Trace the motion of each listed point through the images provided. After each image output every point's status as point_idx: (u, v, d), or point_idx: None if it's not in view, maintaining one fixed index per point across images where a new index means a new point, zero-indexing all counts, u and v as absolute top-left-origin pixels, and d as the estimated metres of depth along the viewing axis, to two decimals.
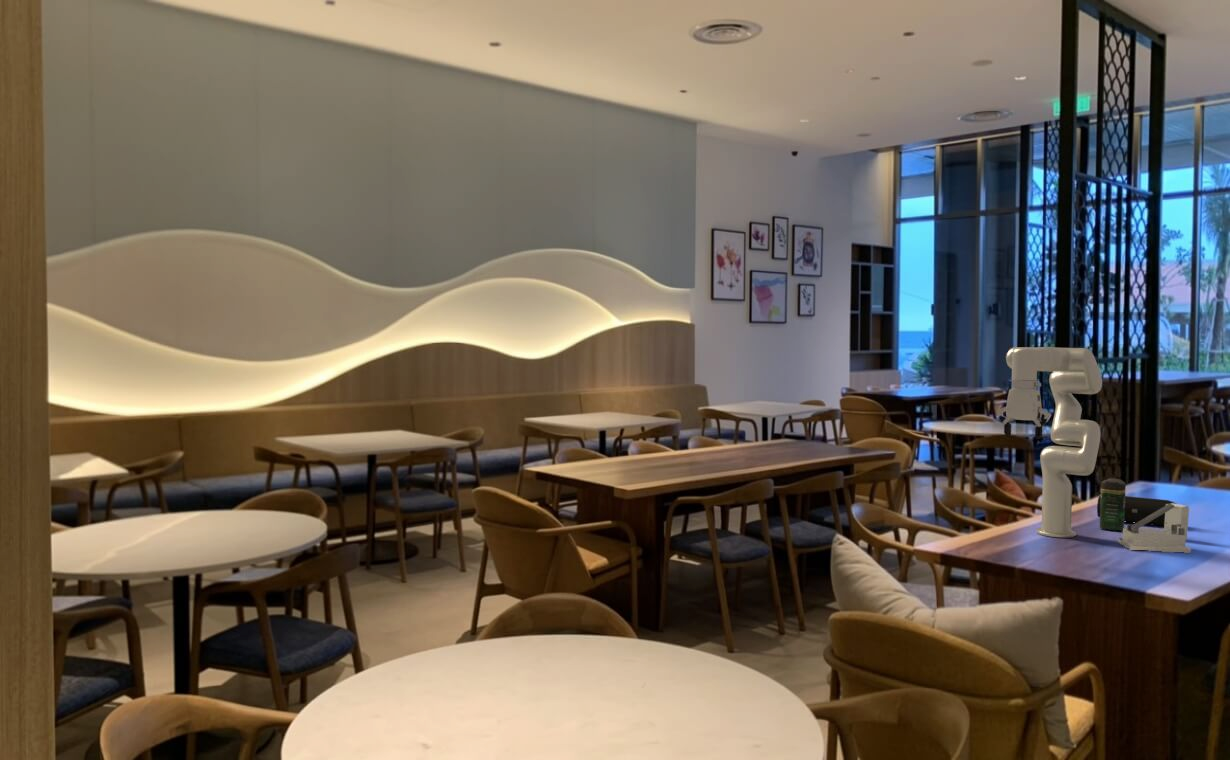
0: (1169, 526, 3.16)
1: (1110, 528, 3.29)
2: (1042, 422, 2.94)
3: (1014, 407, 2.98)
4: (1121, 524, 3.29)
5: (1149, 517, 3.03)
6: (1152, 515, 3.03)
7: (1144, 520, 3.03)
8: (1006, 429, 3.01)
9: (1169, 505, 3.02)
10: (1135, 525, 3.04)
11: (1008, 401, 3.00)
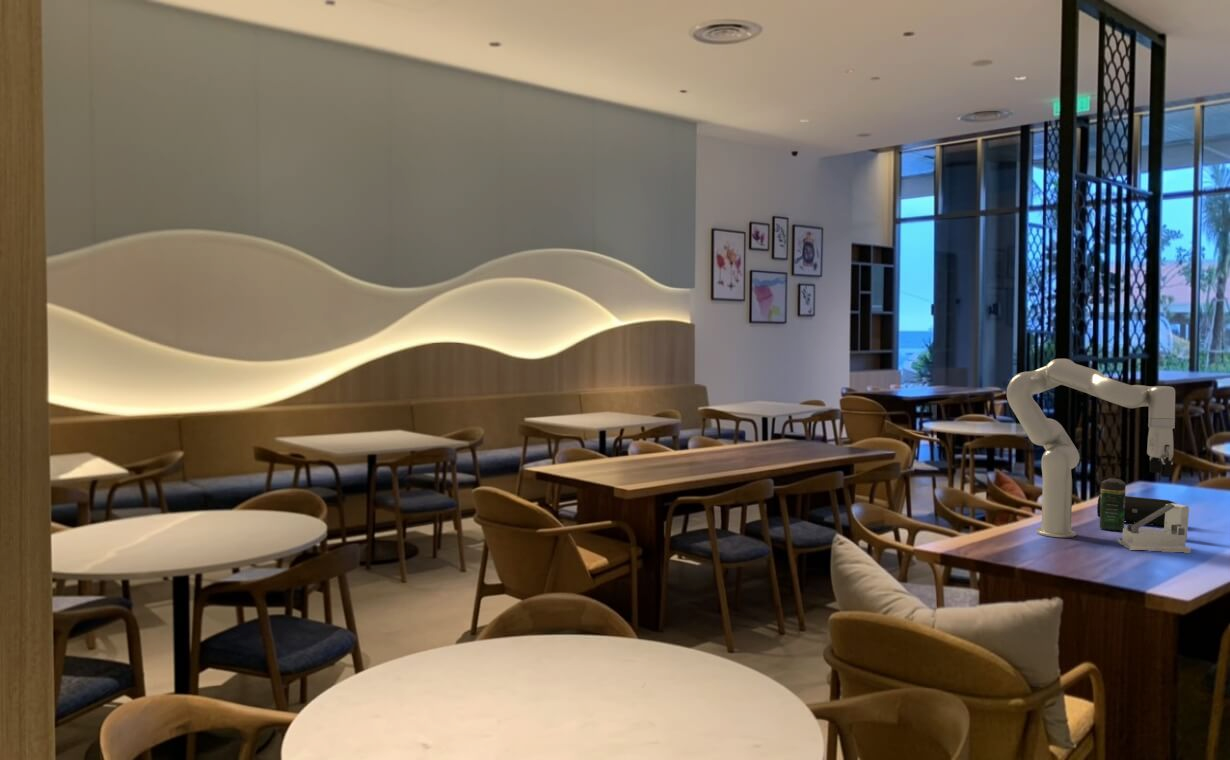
0: (1169, 526, 3.16)
1: (1110, 528, 3.29)
2: None
3: None
4: (1121, 524, 3.29)
5: (1149, 517, 3.03)
6: (1152, 515, 3.03)
7: (1144, 520, 3.03)
8: None
9: (1169, 505, 3.02)
10: (1135, 525, 3.04)
11: None
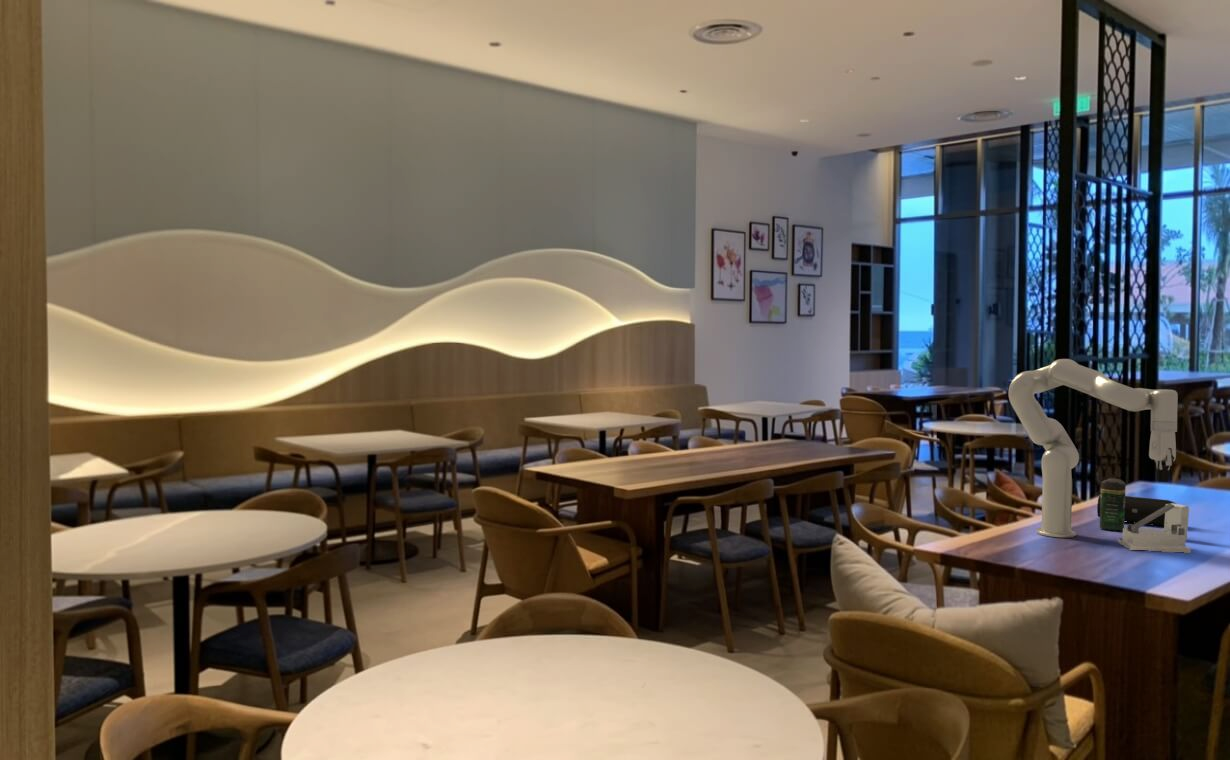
0: (1169, 526, 3.16)
1: (1110, 528, 3.29)
2: None
3: None
4: (1121, 524, 3.29)
5: (1149, 517, 3.03)
6: (1152, 515, 3.03)
7: (1144, 520, 3.03)
8: None
9: (1169, 505, 3.02)
10: (1135, 525, 3.04)
11: (1175, 444, 2.97)
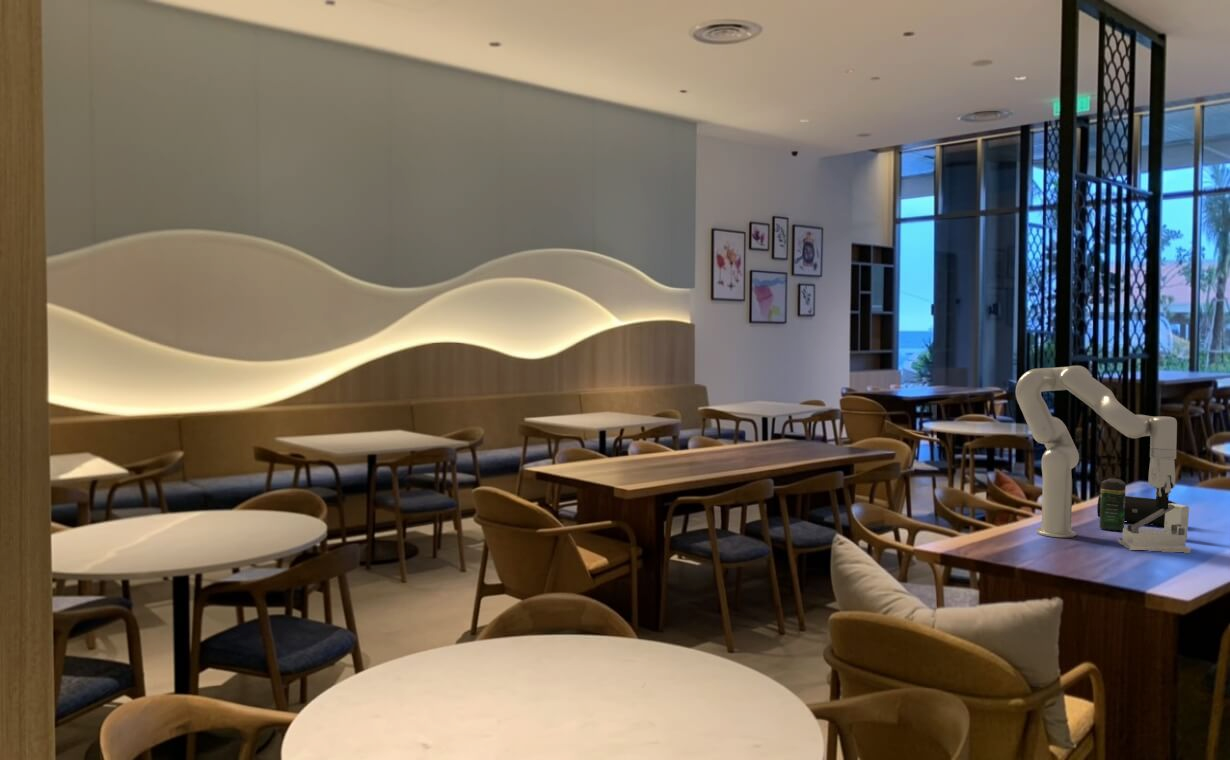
0: (1169, 526, 3.16)
1: (1110, 528, 3.29)
2: None
3: None
4: (1121, 524, 3.29)
5: (1149, 517, 3.03)
6: (1152, 515, 3.03)
7: (1144, 520, 3.03)
8: None
9: (1169, 506, 3.02)
10: (1135, 525, 3.04)
11: (1174, 471, 2.97)
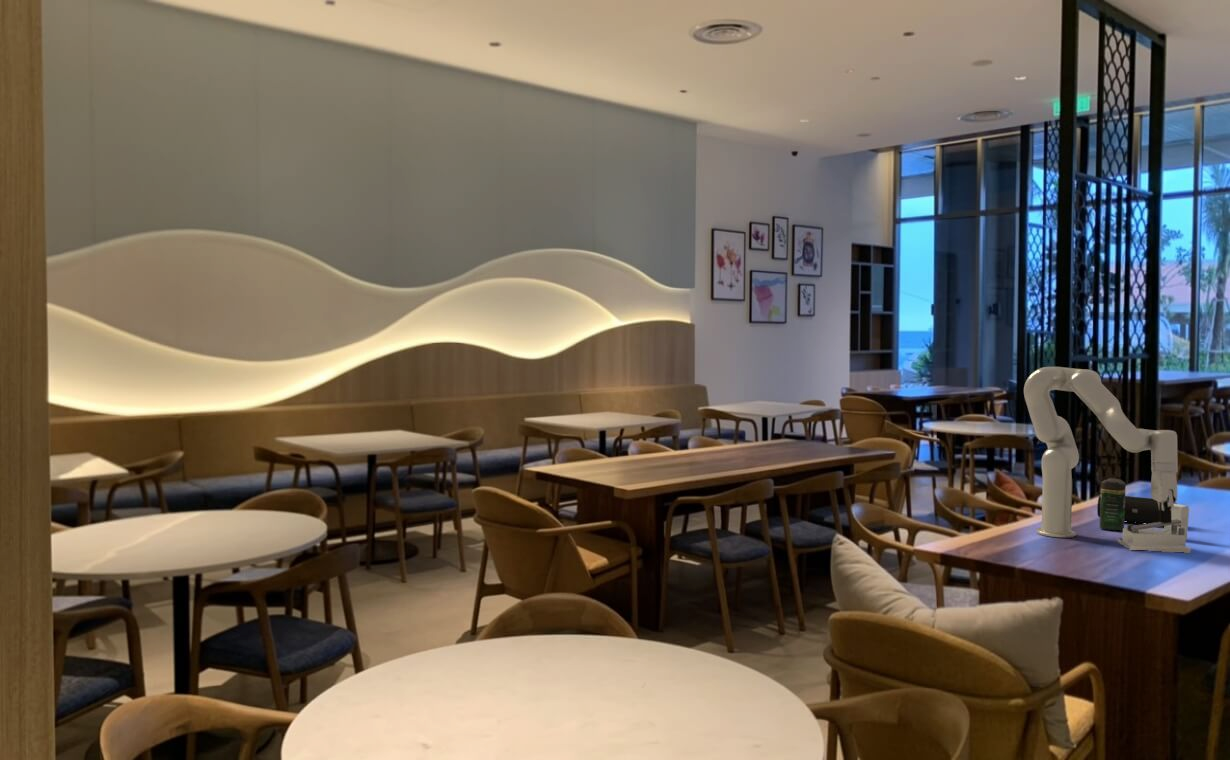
0: (1169, 526, 3.16)
1: (1110, 528, 3.29)
2: None
3: None
4: (1121, 524, 3.29)
5: (1153, 524, 3.03)
6: (1156, 523, 3.03)
7: (1147, 525, 3.03)
8: None
9: (1176, 520, 3.01)
10: (1136, 526, 3.04)
11: (1176, 485, 2.97)
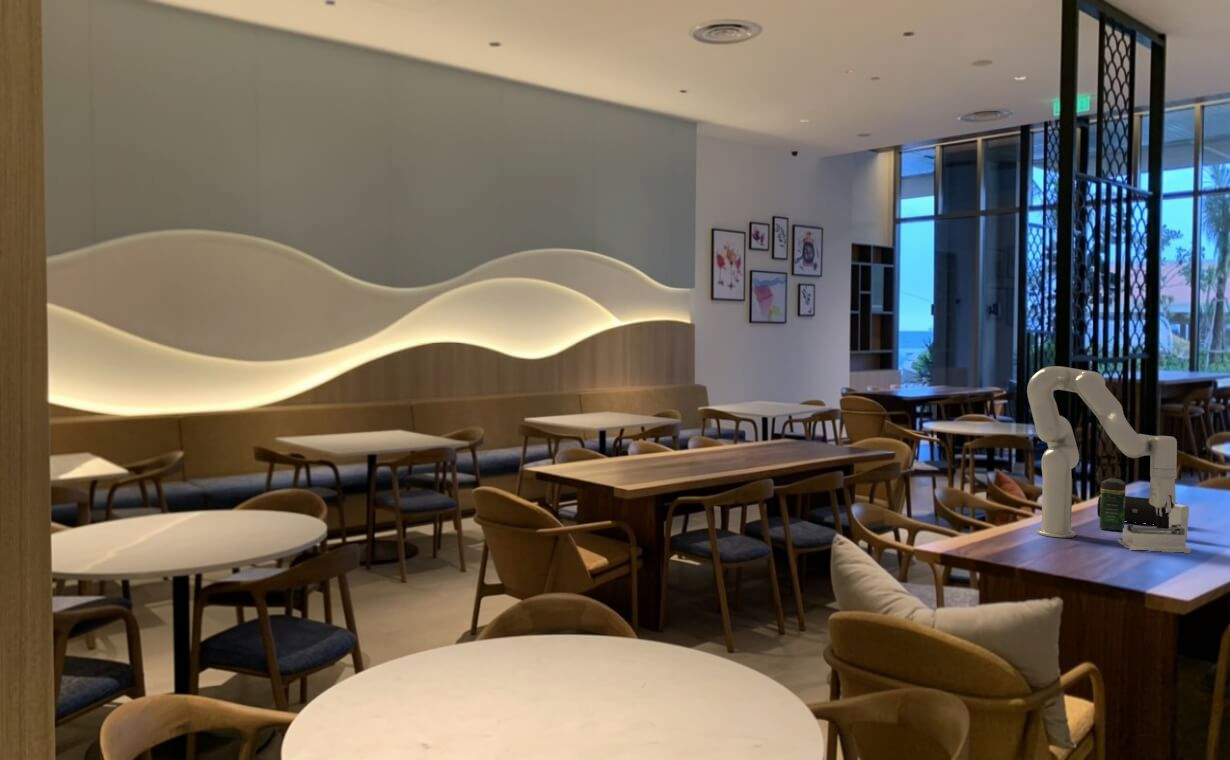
0: (1169, 526, 3.16)
1: (1110, 528, 3.29)
2: None
3: None
4: (1121, 524, 3.29)
5: (1153, 527, 3.03)
6: (1157, 527, 3.03)
7: (1147, 527, 3.03)
8: None
9: (1177, 527, 3.02)
10: None
11: None
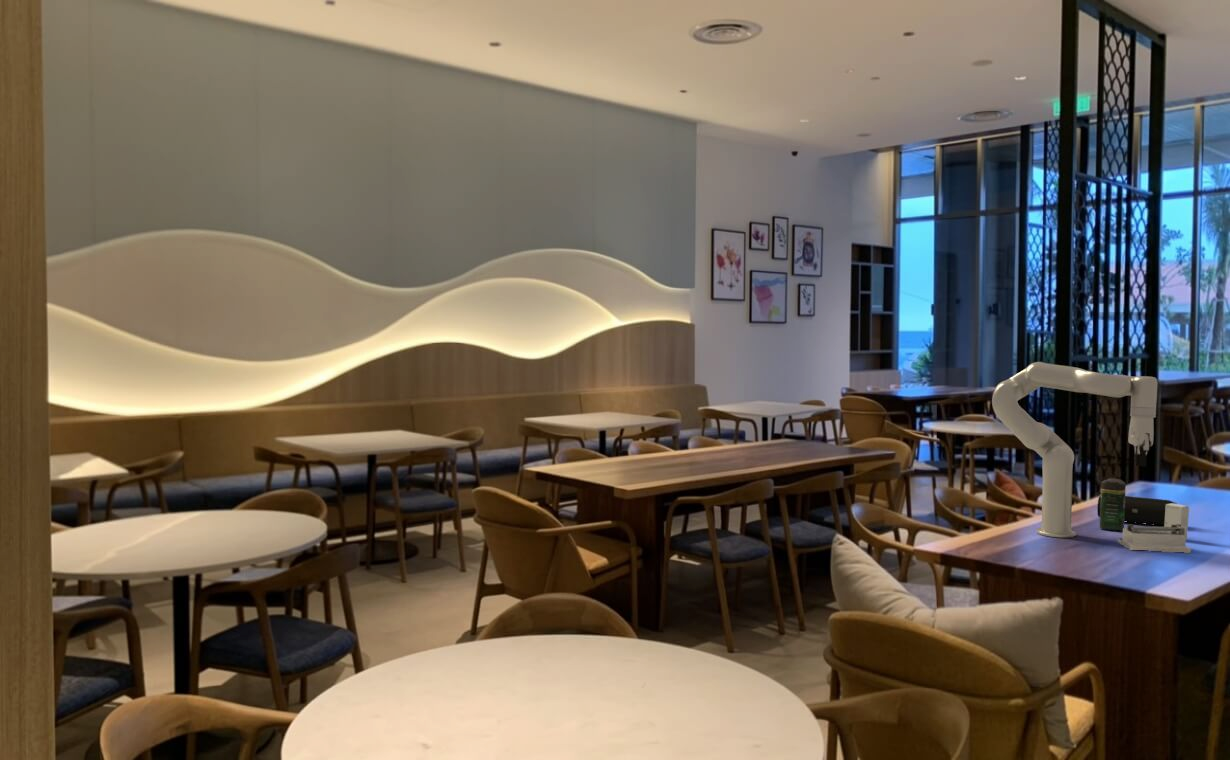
0: (1169, 526, 3.16)
1: (1110, 528, 3.29)
2: None
3: None
4: (1121, 524, 3.29)
5: (1153, 527, 3.03)
6: (1157, 527, 3.03)
7: (1147, 527, 3.03)
8: None
9: (1177, 527, 3.02)
10: None
11: (1153, 429, 3.05)
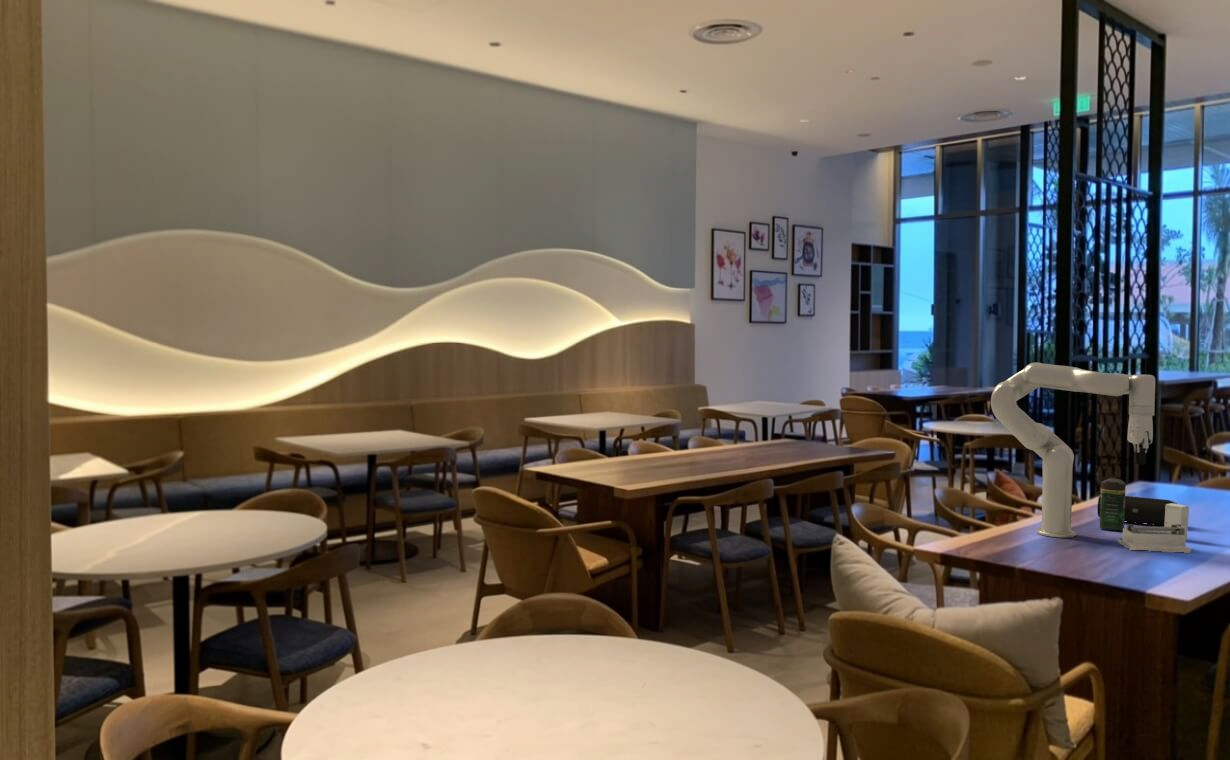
0: (1169, 526, 3.16)
1: (1110, 528, 3.29)
2: None
3: None
4: (1121, 524, 3.29)
5: (1153, 527, 3.03)
6: (1157, 527, 3.03)
7: (1147, 527, 3.03)
8: None
9: (1177, 527, 3.02)
10: None
11: (1152, 427, 3.05)
